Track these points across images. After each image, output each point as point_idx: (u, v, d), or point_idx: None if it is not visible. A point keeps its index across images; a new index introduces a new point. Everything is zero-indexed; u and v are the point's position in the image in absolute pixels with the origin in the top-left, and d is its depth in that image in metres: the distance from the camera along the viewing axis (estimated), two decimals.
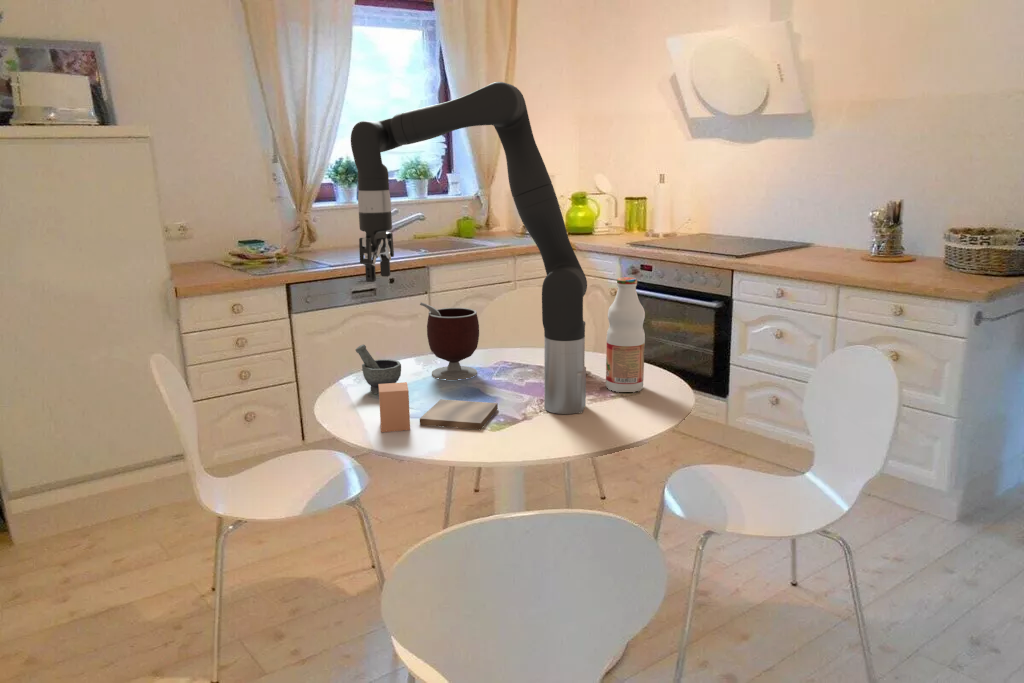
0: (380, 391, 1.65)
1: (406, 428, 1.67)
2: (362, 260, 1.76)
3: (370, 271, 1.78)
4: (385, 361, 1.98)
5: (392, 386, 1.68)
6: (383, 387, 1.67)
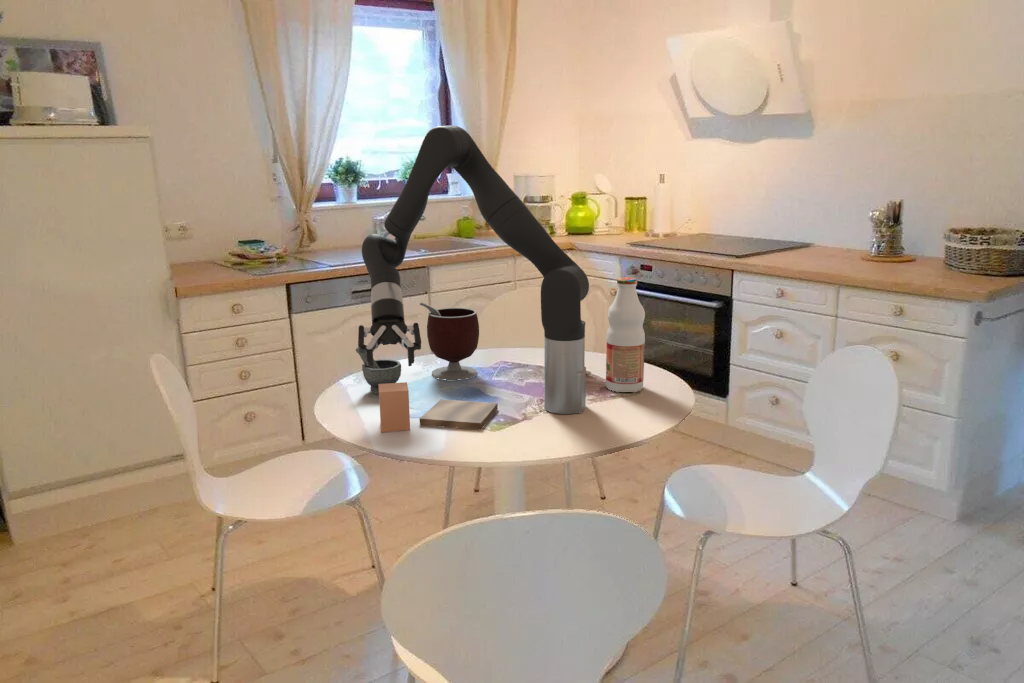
0: (380, 391, 1.65)
1: (406, 428, 1.67)
2: None
3: None
4: (385, 361, 1.98)
5: (392, 386, 1.68)
6: (383, 387, 1.67)
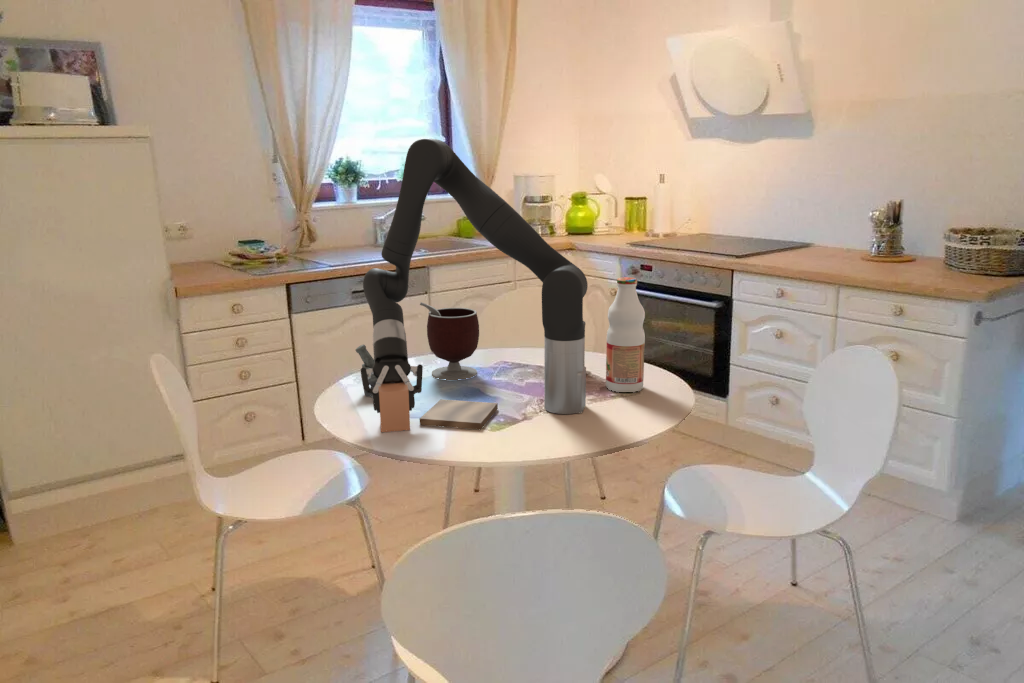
0: (380, 391, 1.65)
1: (406, 428, 1.67)
2: None
3: (373, 400, 1.67)
4: None
5: (392, 386, 1.68)
6: (383, 387, 1.67)
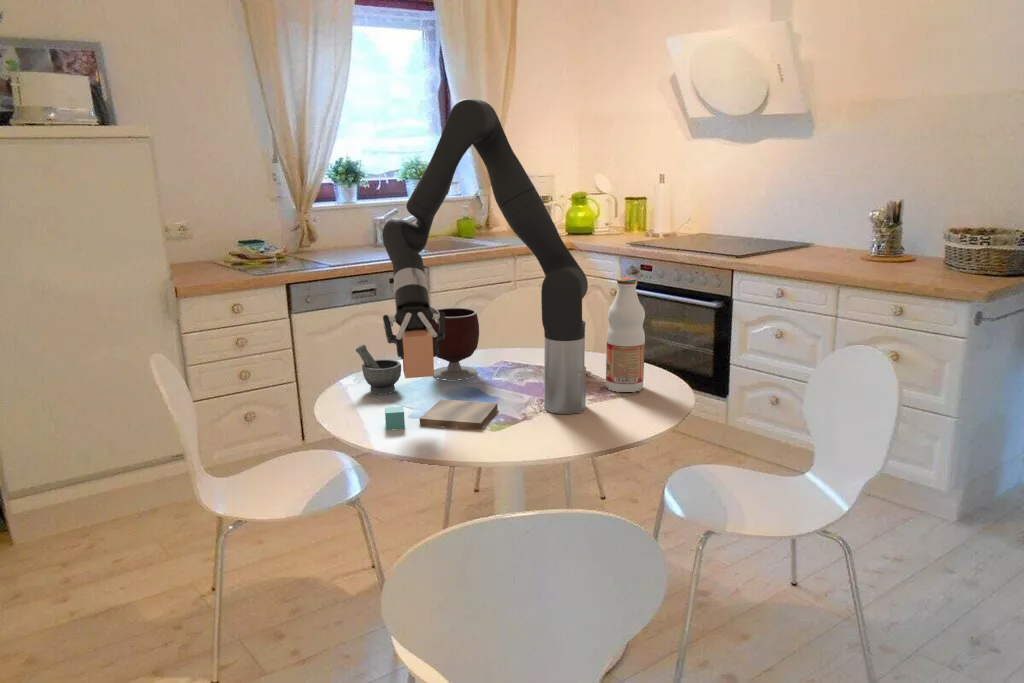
0: (404, 336, 1.64)
1: (430, 374, 1.66)
2: None
3: (396, 346, 1.66)
4: (385, 361, 1.98)
5: (415, 332, 1.67)
6: (406, 333, 1.66)
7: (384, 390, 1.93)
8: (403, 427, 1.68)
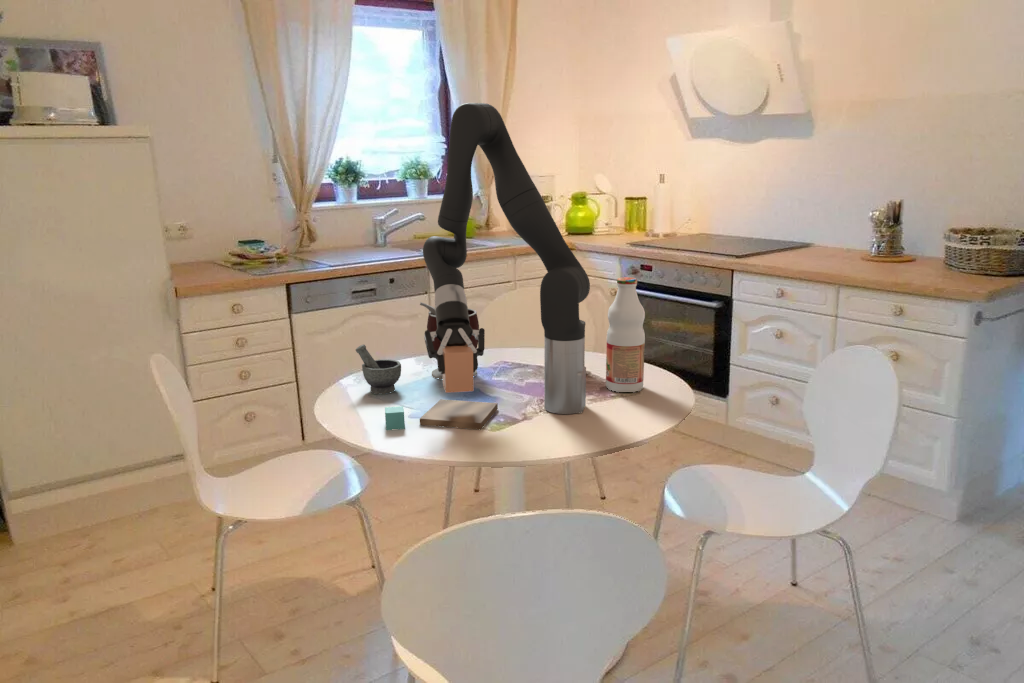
0: (445, 352, 1.69)
1: (470, 389, 1.71)
2: (428, 353, 1.73)
3: (437, 361, 1.71)
4: (385, 361, 1.98)
5: (456, 348, 1.72)
6: (447, 349, 1.71)
7: (384, 390, 1.93)
8: (403, 427, 1.68)
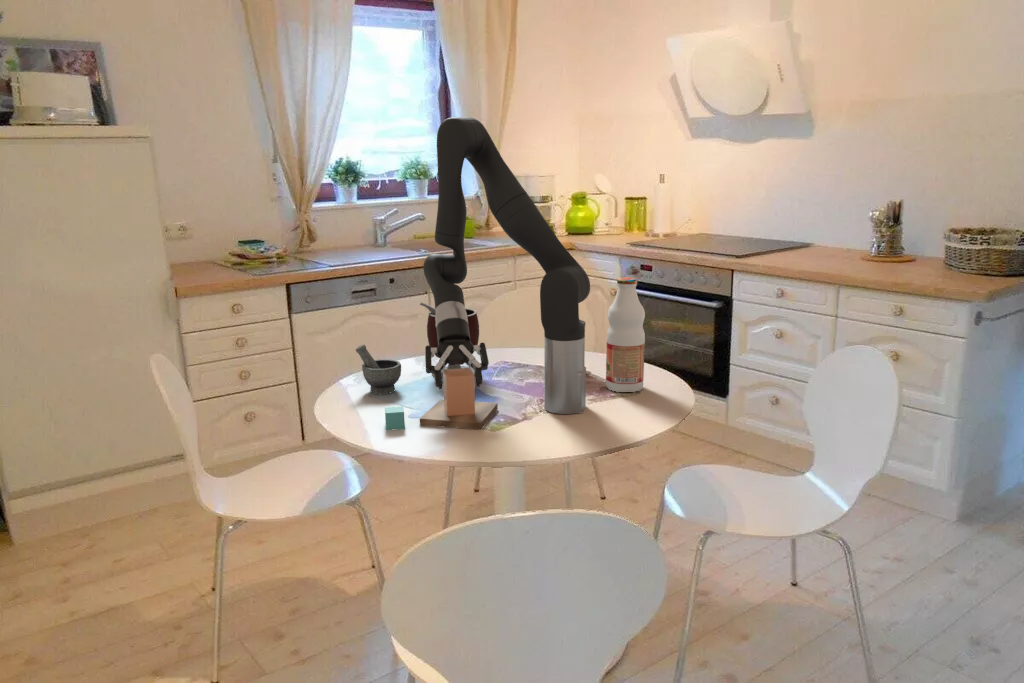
0: (447, 376, 1.70)
1: (471, 412, 1.72)
2: None
3: (435, 376, 1.72)
4: (385, 361, 1.98)
5: (457, 371, 1.73)
6: (448, 372, 1.73)
7: (384, 390, 1.93)
8: (403, 427, 1.68)
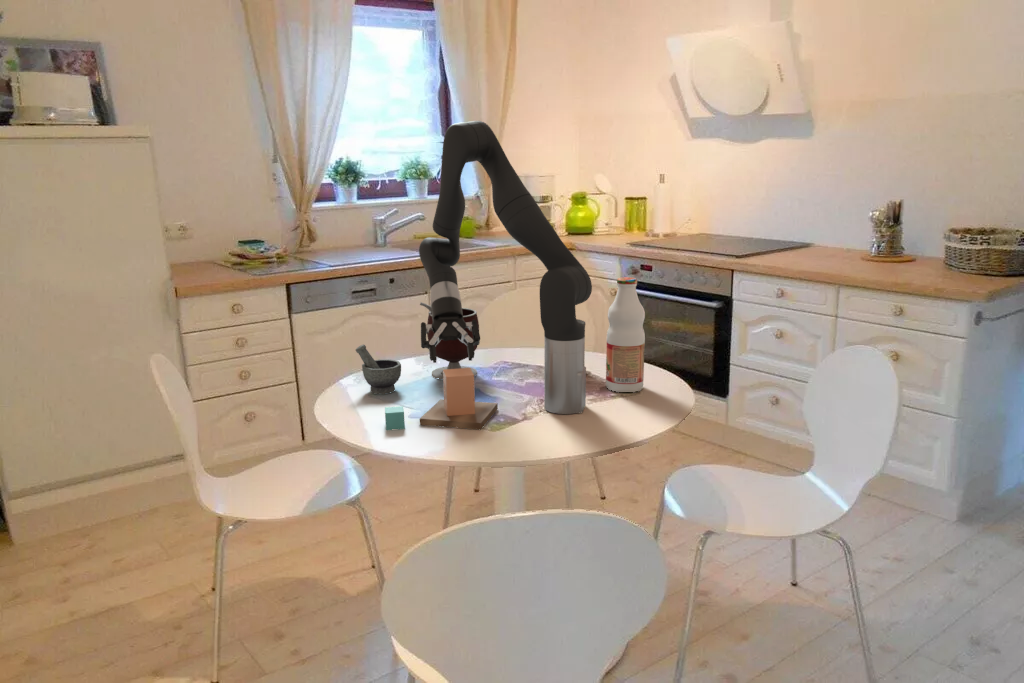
0: (447, 376, 1.70)
1: (471, 412, 1.72)
2: (421, 344, 1.86)
3: (429, 351, 1.84)
4: (385, 361, 1.98)
5: (457, 371, 1.73)
6: (448, 372, 1.73)
7: (384, 390, 1.93)
8: (403, 427, 1.68)
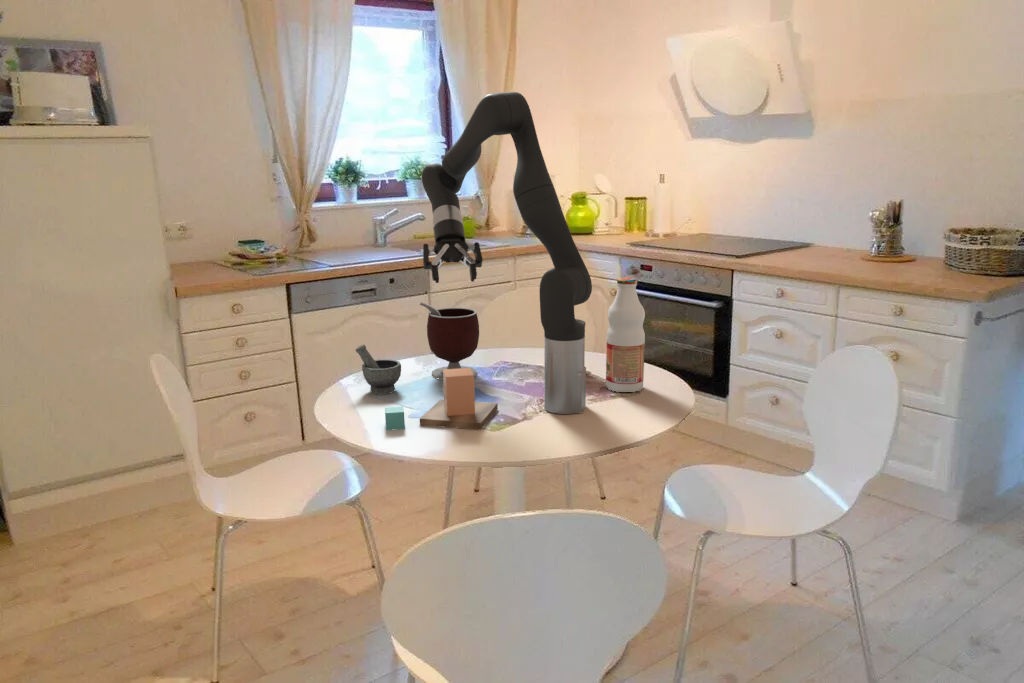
0: (447, 376, 1.70)
1: (471, 412, 1.72)
2: (423, 265, 1.87)
3: (432, 271, 1.85)
4: (385, 361, 1.98)
5: (457, 371, 1.73)
6: (448, 372, 1.73)
7: (384, 390, 1.93)
8: (403, 427, 1.68)
